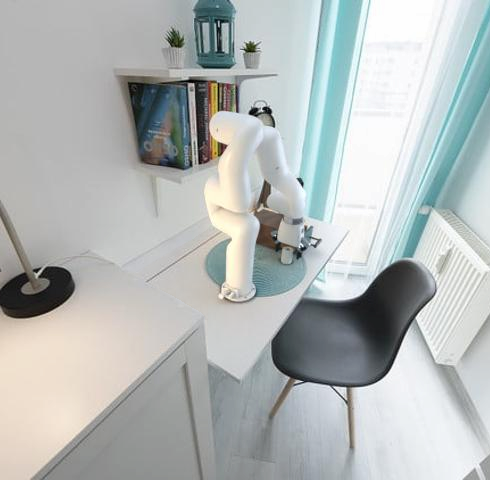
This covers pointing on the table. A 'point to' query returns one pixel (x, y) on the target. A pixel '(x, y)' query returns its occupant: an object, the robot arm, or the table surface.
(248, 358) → the table surface
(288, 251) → the paper towel roll
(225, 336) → the table surface
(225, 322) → the table surface
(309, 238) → the drawer
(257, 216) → the cabinet
